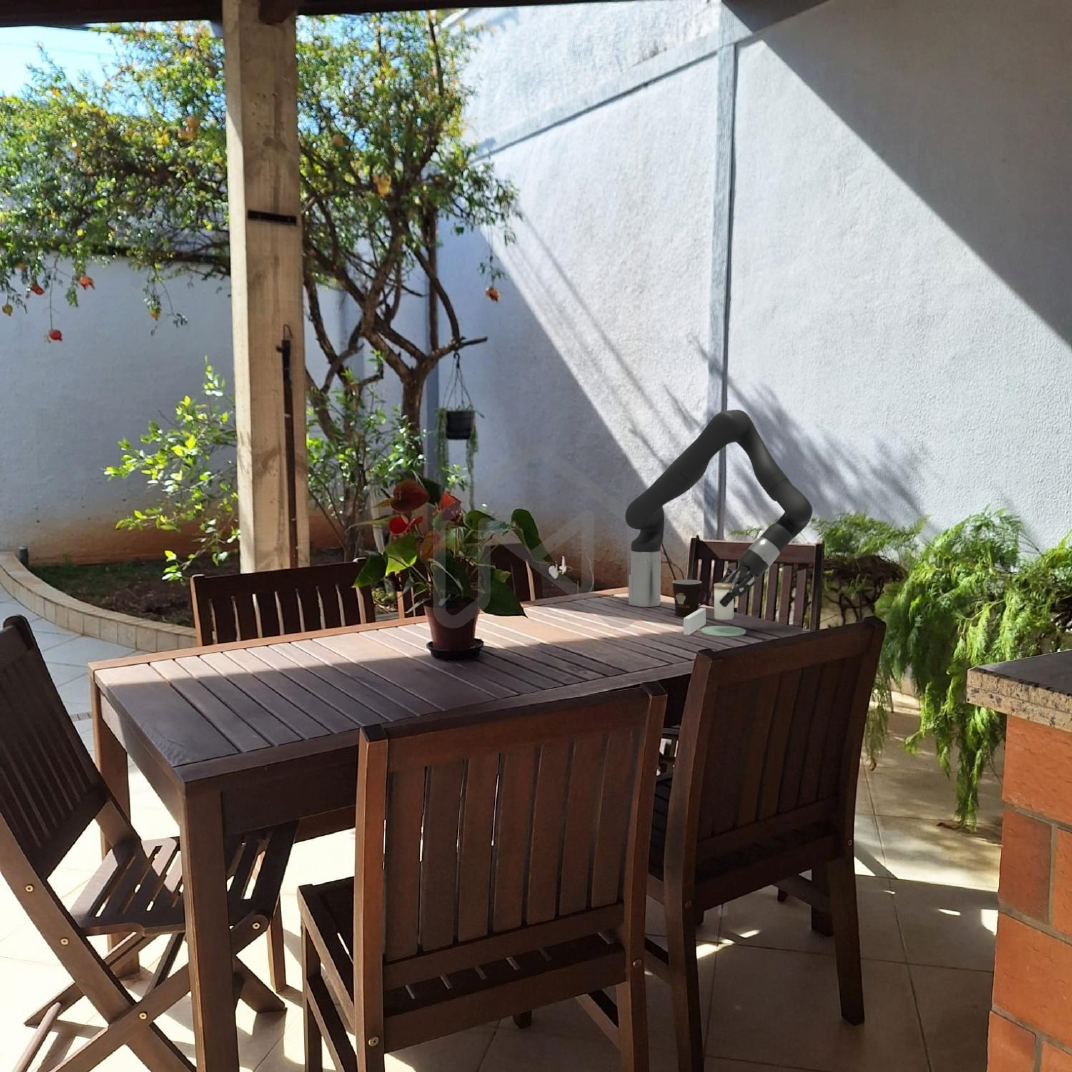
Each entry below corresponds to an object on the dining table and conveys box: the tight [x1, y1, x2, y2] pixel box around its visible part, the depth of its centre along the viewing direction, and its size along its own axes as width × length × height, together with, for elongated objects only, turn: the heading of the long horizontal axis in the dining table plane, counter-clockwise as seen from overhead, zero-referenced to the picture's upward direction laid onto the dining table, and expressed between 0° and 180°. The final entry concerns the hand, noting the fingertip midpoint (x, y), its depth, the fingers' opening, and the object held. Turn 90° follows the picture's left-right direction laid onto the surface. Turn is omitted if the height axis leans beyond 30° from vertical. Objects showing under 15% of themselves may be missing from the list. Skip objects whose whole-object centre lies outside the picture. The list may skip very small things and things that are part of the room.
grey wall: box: [683, 607, 707, 636], centre depth 266 cm, size 2×16×4 cm, turn 154°
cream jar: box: [713, 582, 735, 621], centre depth 262 cm, size 6×6×9 cm
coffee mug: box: [671, 579, 712, 618], centre depth 285 cm, size 12×9×10 cm
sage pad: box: [700, 625, 747, 637], centre depth 263 cm, size 12×12×1 cm
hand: (717, 602), depth 262 cm, fingers closed on cream jar, 5 cm apart
